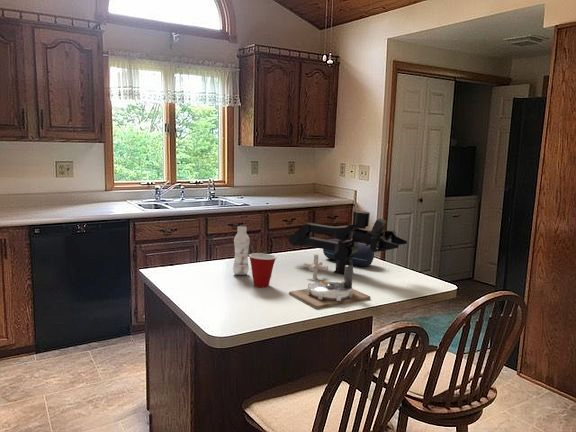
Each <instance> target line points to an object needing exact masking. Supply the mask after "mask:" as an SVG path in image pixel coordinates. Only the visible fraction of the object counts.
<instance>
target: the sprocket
mask: <svg viewBox="0 0 576 432" xmlns="http://www.w3.org/2000/svg"><path fill="white" fill-rule="evenodd" d="M343 275H344V279H343V281H344V284H341V282H340V281H339V282H338V281H337V282H336V281H335V282H334V281H325V280H323V281H321V280H320V281H317V282H316V281H315V282H313V283H312V282H311V283H308V284H307V288H306V289H307V294H308V295H311V296H313V297H315V298H318V299H320V300H336V301H341V300H344V299H348V298H352V295H353V292H352V289H353V278H354V277H353V275H354V264H353V265H345V273H344V274H343Z"/></svg>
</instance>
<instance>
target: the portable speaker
mask: <svg viewBox="0 0 576 432" xmlns="http://www.w3.org/2000/svg"><path fill="white" fill-rule="evenodd" d="M329 240H330V241H335V242H338V241H339V239H336V238H333V239H332V238H331V239H329ZM357 246H358V252H357V253H356V254H355V255H354V257H353V258H351V259H352V263H353V265H355V266H361V267H370V266H371V265H372V263H373V260H374V258H375V252H372V251H371V250H370V245H369V246H366V244H363V243H358V245H357ZM322 251H323V255H324V256H325V257H326V258H328V259H330V260H333V261H336V259H335V257H334V254H335V253H336V252H334V251H330V250H325V249H322Z"/></svg>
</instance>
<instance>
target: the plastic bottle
mask: <svg viewBox="0 0 576 432" xmlns="http://www.w3.org/2000/svg"><path fill="white" fill-rule="evenodd" d="M247 229H248V228H247V226H246V225H239V226H237V230H236V231H237V232H236V234H235V236H234V238H233V242H234V243H233V245H234V260H233V266H232V273H233V274H234V275H235V276H236V275H237V276H245V275H247V274H248V273H249V270H250V269H249V267H250V266H249V258H248V257H249V246H250V240H251V239H250V236H249V235H248V234H247V231H248V230H247Z"/></svg>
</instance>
